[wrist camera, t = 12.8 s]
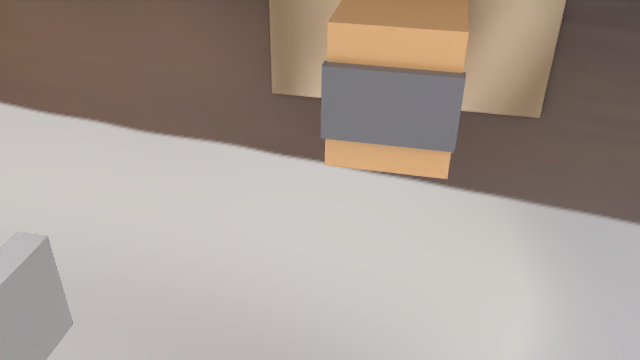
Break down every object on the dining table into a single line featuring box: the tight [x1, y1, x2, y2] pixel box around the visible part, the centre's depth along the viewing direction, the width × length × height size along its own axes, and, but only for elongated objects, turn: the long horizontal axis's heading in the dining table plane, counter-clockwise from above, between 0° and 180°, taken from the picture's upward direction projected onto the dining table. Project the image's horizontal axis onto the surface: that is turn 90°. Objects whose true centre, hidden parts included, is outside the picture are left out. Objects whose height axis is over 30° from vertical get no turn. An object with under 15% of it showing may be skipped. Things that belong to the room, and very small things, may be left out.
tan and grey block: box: [321, 0, 469, 179], centre depth 26 cm, size 5×6×8 cm
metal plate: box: [269, 0, 566, 118], centre depth 29 cm, size 14×7×1 cm, turn 90°
